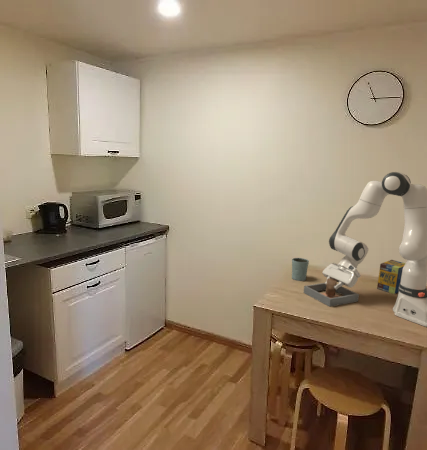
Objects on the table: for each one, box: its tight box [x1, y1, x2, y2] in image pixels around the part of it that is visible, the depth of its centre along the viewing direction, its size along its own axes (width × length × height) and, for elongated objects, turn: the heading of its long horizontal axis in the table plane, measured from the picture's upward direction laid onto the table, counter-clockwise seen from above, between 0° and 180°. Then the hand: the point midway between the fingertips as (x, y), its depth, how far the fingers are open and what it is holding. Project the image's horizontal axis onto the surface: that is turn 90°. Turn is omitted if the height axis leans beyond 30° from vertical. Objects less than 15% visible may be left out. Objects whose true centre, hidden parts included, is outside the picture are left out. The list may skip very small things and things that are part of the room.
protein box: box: [376, 259, 406, 295], centre depth 214 cm, size 10×15×16 cm
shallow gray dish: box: [303, 282, 360, 307], centre depth 198 cm, size 20×20×4 cm
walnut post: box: [325, 278, 338, 296], centre depth 197 cm, size 5×5×8 cm
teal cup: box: [291, 257, 310, 282], centre depth 225 cm, size 10×10×12 cm
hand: (330, 286), depth 197 cm, fingers closed on walnut post, 5 cm apart
